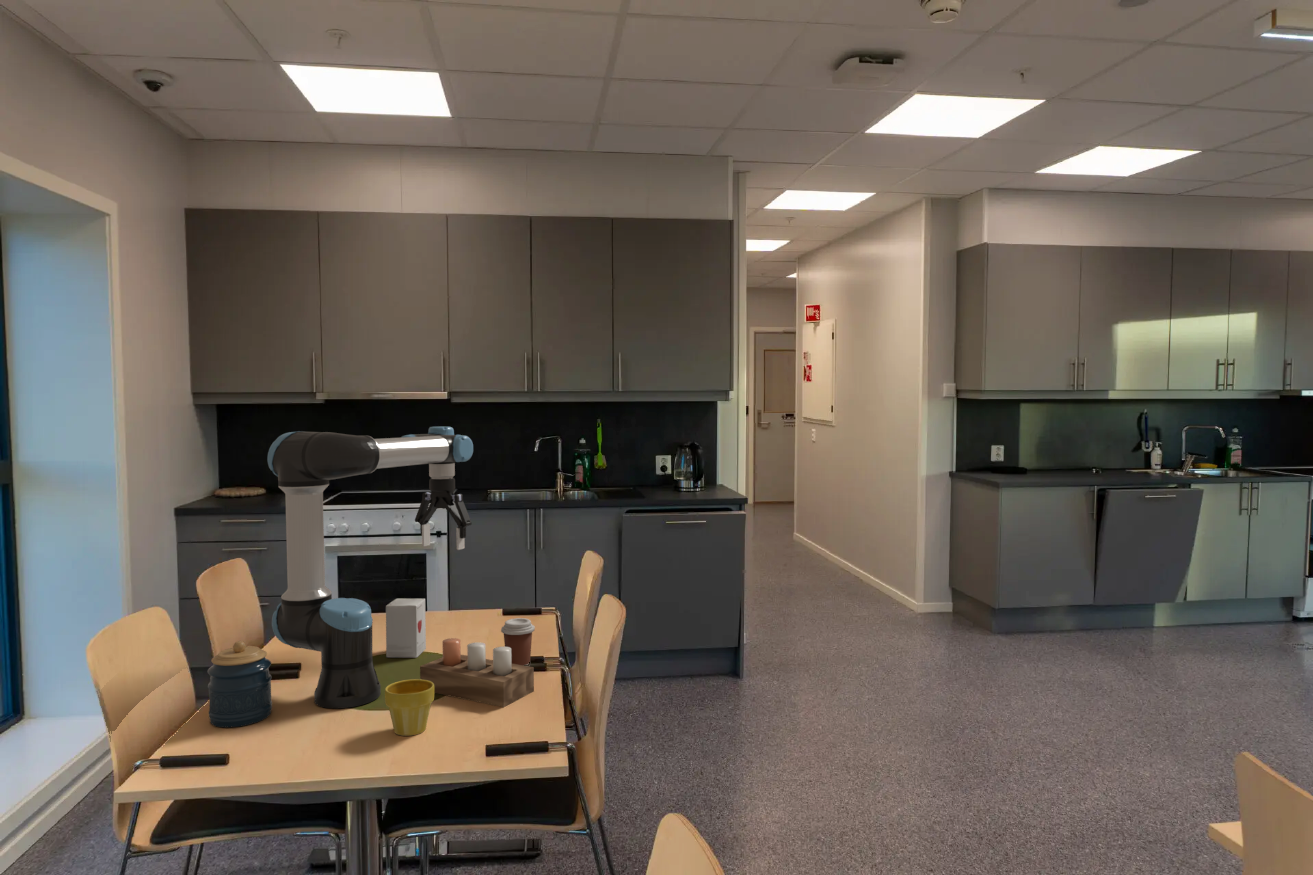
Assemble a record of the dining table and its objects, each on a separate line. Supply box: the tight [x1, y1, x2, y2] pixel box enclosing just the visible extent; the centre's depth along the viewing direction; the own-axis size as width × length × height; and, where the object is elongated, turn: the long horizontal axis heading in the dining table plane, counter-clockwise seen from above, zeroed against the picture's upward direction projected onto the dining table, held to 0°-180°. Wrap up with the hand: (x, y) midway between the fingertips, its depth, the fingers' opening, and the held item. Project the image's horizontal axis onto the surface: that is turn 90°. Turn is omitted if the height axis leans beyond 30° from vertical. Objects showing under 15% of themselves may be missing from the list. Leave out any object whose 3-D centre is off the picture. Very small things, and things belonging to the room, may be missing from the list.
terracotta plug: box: [442, 637, 462, 667], centre depth 207 cm, size 4×4×7 cm
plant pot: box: [384, 678, 435, 737], centre depth 179 cm, size 10×10×10 cm
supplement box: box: [385, 598, 427, 659], centre depth 234 cm, size 9×9×15 cm
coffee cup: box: [500, 617, 536, 666], centre depth 223 cm, size 9×9×12 cm
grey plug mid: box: [466, 641, 487, 671], centre depth 203 cm, size 4×4×7 cm
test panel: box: [419, 654, 535, 708], centre depth 203 cm, size 12×26×6 cm, turn 63°
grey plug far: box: [492, 646, 512, 676], centre depth 200 cm, size 4×4×7 cm
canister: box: [206, 640, 273, 728], centre depth 186 cm, size 13×13×18 cm
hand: (443, 547), depth 248 cm, fingers open, 13 cm apart
